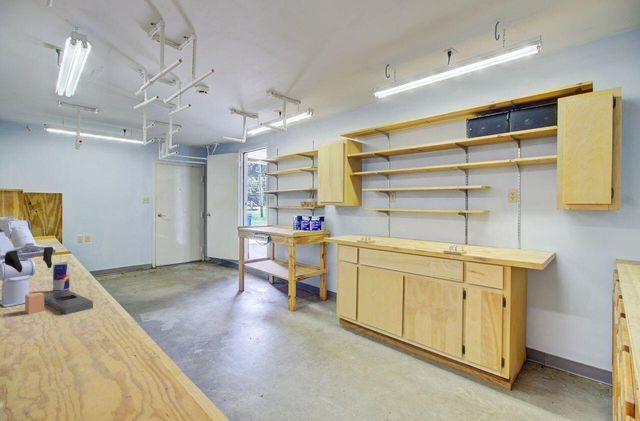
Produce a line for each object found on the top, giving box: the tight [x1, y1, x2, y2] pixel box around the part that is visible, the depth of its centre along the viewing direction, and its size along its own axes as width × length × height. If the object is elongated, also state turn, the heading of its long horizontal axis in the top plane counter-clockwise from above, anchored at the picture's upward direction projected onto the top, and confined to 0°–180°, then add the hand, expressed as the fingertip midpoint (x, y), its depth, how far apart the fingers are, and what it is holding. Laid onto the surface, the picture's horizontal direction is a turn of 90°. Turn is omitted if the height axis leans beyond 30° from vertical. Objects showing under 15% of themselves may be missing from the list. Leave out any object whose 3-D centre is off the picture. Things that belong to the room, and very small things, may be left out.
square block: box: [24, 291, 45, 315], centre depth 107 cm, size 4×4×6 cm
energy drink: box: [52, 261, 70, 293], centre depth 131 cm, size 5×5×12 cm
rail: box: [43, 289, 94, 315], centre depth 114 cm, size 24×8×2 cm, turn 57°
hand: (35, 267), depth 104 cm, fingers open, 7 cm apart
